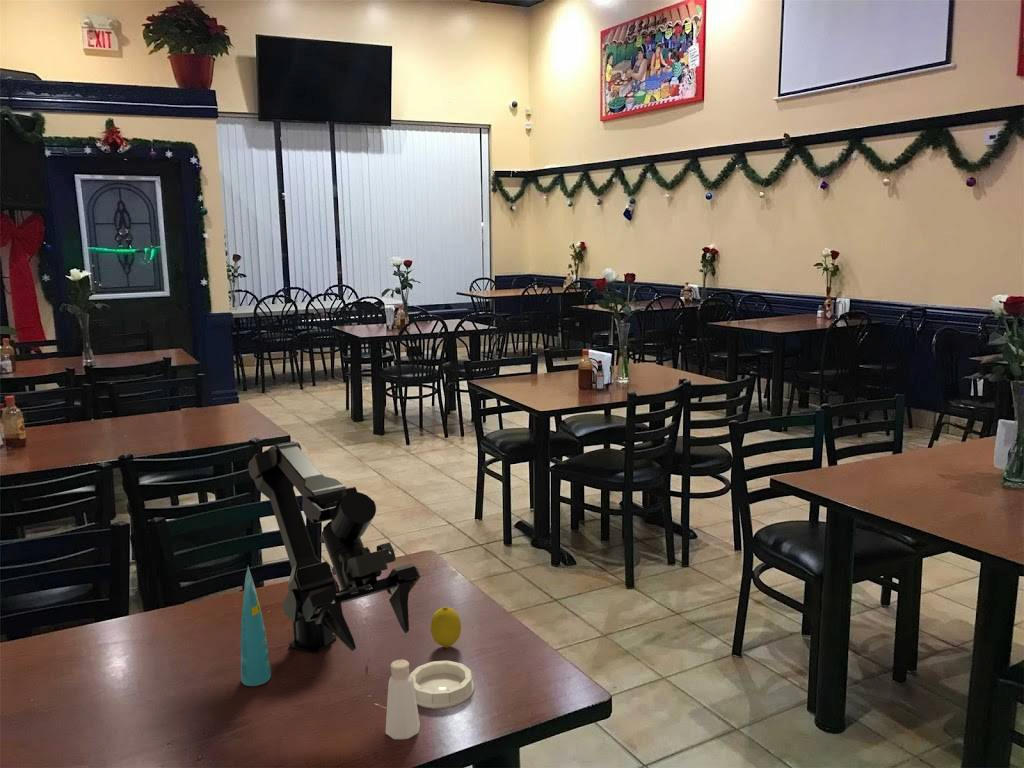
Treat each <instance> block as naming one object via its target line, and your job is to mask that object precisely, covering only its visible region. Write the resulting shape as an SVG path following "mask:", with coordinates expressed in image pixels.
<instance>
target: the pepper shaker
mask: <svg viewBox="0 0 1024 768" xmlns="http://www.w3.org/2000/svg"><path fill="white" fill-rule="evenodd" d="M409 667H410V662H409V661H408V660H406V659H397V660H393V661H392V662H391V664H390V672H391V673H390V674H391V676H389V678H388V679H389V680H388V685H387V700H386V702H387V703H386V721H385V734H386V735H387V736H389V737H390V738H391V739H393V740H409V739H410V738H413V737H414V736H416V735H418V734H419V732H420V726H421V723H420V716H419V715H420V714H419V708H418V705H417V702H416V695H415V689H414V682H413V677H412V676H411V675H410V668H409Z"/></svg>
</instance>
